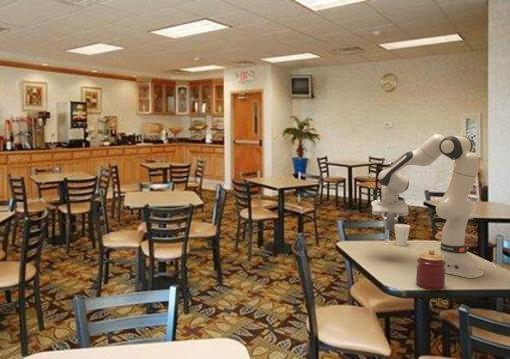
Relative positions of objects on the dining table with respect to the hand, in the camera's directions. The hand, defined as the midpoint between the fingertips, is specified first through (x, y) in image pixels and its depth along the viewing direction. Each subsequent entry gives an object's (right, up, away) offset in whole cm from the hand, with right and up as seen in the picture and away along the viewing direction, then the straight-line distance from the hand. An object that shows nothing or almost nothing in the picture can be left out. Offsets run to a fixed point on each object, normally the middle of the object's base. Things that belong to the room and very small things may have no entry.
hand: (390, 220), depth 247 cm
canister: (+7, -28, -38) cm, 48 cm away
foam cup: (+19, -20, +38) cm, 47 cm away
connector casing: (0, -5, +1) cm, 5 cm away
